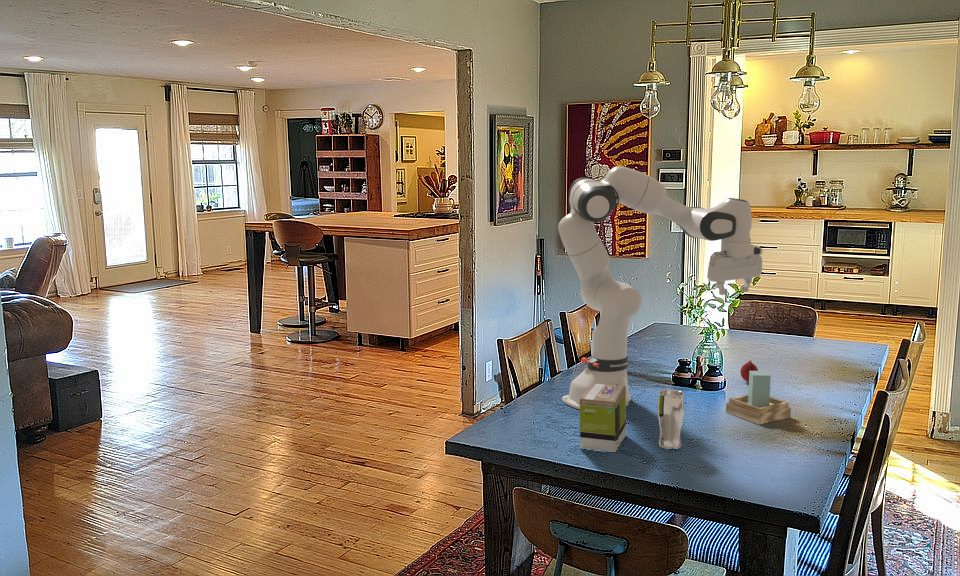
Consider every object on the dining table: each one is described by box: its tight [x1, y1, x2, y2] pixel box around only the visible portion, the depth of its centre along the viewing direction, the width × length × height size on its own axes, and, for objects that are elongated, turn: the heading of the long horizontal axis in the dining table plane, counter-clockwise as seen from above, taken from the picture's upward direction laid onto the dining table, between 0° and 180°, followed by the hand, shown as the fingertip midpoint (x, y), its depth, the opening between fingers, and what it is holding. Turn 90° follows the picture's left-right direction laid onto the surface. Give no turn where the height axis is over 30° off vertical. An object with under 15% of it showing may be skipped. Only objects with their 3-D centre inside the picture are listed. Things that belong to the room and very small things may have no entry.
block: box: [747, 370, 772, 408], centre depth 236 cm, size 5×5×10 cm
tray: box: [725, 393, 792, 426], centre depth 237 cm, size 13×13×4 cm
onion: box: [740, 359, 759, 384], centre depth 270 cm, size 6×6×8 cm
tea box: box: [579, 383, 627, 453], centre depth 216 cm, size 15×10×15 cm, turn 159°
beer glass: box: [657, 388, 685, 449], centre depth 212 cm, size 7×7×15 cm
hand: (733, 293), depth 250 cm, fingers open, 8 cm apart
